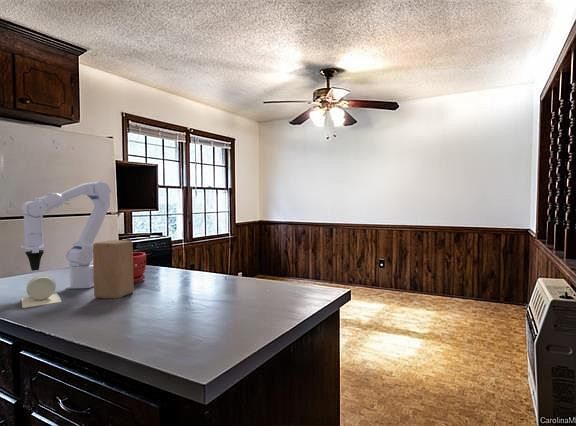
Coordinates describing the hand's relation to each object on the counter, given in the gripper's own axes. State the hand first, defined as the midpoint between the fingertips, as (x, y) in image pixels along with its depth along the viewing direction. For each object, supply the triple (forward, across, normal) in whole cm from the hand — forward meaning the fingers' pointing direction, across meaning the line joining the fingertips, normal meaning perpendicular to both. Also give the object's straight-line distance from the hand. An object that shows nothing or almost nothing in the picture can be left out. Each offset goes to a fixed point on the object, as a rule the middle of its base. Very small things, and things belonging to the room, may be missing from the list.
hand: (35, 270), depth 137 cm
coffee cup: (+6, 0, +1) cm, 6 cm away
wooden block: (+10, +19, +23) cm, 31 cm away
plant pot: (+10, -2, +34) cm, 35 cm away
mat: (+9, +10, +1) cm, 14 cm away
